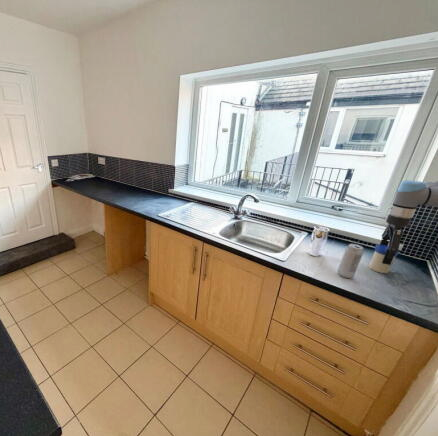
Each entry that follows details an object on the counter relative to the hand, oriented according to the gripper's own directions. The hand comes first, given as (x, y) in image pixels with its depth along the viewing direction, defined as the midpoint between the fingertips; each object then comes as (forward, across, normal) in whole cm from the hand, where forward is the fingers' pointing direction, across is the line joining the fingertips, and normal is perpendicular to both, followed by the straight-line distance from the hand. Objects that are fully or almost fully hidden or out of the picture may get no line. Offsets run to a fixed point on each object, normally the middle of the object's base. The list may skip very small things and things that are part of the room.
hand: (383, 257), depth 115 cm
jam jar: (+6, 0, 0) cm, 6 cm away
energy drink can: (+6, +16, -14) cm, 22 cm away
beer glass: (+6, 0, -26) cm, 27 cm away
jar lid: (-5, 0, 0) cm, 5 cm away
